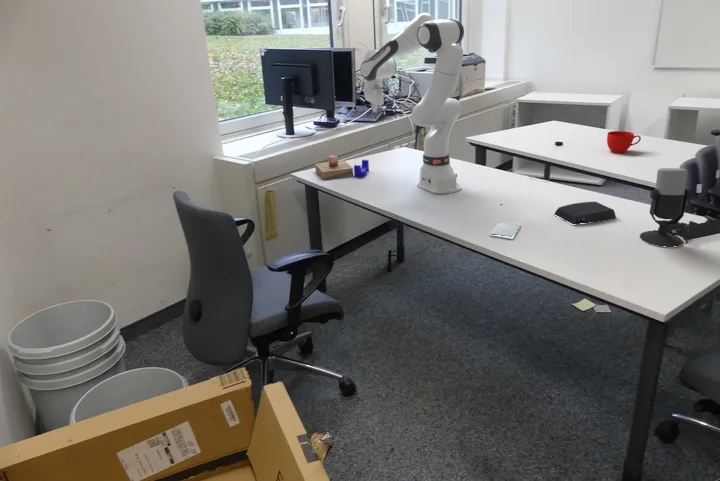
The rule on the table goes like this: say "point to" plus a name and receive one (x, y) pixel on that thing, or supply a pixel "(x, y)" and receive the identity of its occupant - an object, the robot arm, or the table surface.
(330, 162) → the peg
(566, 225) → the table surface
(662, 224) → the microphone
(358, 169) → the cable clip
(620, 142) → the ceramic cup
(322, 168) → the board
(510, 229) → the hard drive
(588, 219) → the external hard drive
